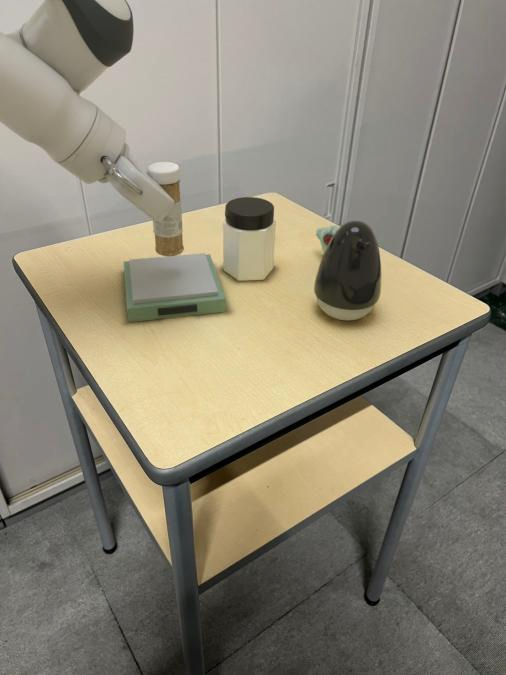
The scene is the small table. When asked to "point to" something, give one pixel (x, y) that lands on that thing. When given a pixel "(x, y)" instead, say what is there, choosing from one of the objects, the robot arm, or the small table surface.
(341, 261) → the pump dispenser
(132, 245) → the small table surface
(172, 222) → the sprinkles bottle
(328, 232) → the robot head
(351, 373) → the small table surface
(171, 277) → the kitchen scale
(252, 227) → the jar
